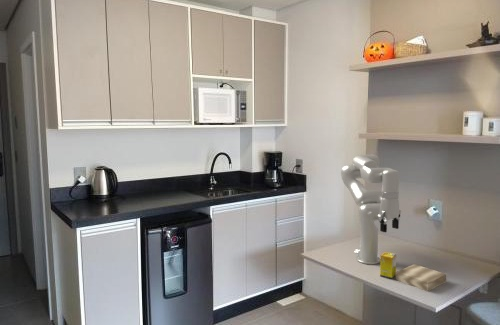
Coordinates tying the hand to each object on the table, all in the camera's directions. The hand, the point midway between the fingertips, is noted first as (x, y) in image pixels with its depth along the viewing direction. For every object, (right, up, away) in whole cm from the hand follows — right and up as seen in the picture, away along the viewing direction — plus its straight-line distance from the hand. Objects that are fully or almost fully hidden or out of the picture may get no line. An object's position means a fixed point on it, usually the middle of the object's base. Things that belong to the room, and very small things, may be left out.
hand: (389, 230), depth 185 cm
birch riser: (+13, -24, -4) cm, 27 cm away
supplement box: (0, -23, +3) cm, 24 cm away
